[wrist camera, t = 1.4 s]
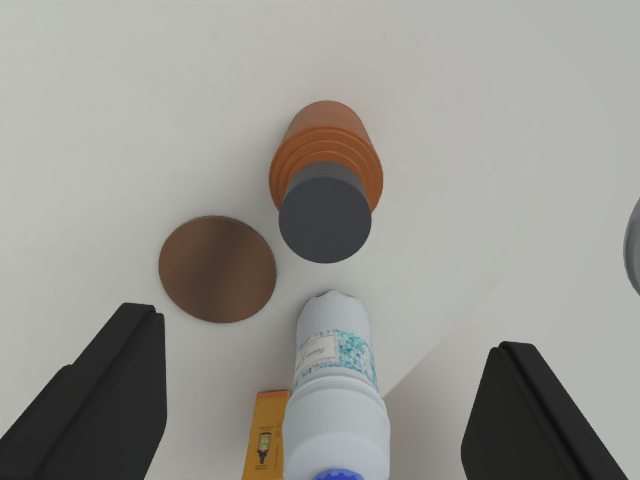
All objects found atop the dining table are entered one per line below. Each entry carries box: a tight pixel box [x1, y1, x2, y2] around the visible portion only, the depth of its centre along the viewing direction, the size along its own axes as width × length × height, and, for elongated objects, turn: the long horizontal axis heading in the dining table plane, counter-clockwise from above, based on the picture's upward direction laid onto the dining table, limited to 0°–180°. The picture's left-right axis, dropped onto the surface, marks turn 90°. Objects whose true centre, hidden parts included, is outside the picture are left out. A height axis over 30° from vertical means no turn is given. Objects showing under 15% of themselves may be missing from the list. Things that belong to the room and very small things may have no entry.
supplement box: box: [242, 390, 291, 480], centre depth 40 cm, size 3×3×10 cm
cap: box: [279, 161, 372, 263], centre depth 20 cm, size 4×4×3 cm
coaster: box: [159, 216, 277, 323], centre depth 39 cm, size 10×10×1 cm
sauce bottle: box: [269, 101, 383, 214], centre depth 27 cm, size 6×6×18 cm
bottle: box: [282, 290, 390, 480], centre depth 31 cm, size 7×7×20 cm
